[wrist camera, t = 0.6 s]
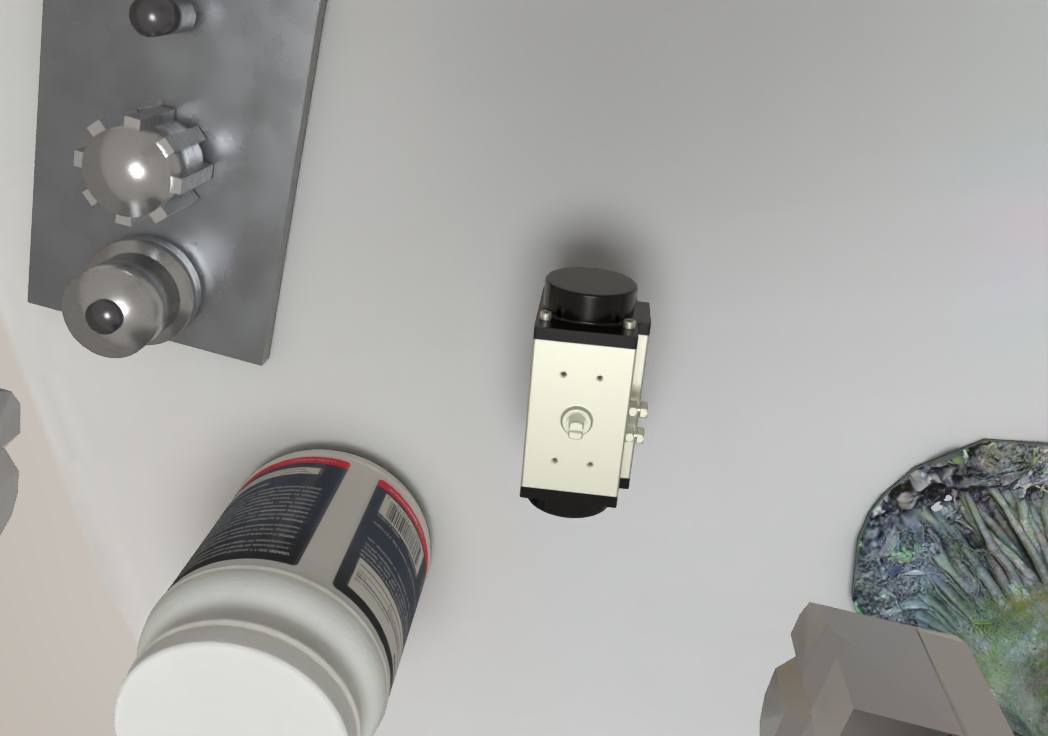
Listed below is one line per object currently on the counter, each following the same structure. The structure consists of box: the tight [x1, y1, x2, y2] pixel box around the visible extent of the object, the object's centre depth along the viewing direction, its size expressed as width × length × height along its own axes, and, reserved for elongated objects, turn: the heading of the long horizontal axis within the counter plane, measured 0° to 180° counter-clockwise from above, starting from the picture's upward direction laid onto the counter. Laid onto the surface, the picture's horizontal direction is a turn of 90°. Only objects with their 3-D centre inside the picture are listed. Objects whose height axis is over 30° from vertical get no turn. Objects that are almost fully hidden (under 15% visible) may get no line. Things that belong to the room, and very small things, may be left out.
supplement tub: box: [114, 449, 431, 736], centre depth 53 cm, size 13×13×18 cm
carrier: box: [28, 0, 327, 366], centre depth 50 cm, size 21×14×7 cm, turn 166°
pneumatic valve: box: [520, 267, 651, 518], centre depth 49 cm, size 6×12×12 cm, turn 175°
